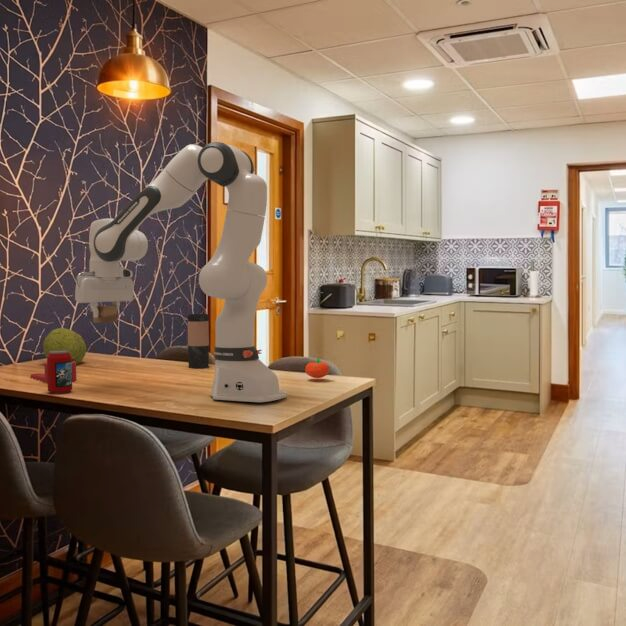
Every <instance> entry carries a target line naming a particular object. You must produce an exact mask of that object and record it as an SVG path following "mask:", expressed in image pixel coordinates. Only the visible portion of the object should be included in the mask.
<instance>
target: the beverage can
mask: <svg viewBox="0 0 626 626" xmlns="http://www.w3.org/2000/svg"><path fill="white" fill-rule="evenodd" d="M46 363H47V381H48V383H47V391H48V392H49V393H51V394H53V393H55V394H56V395H59V394H62V395H63V394H66V393H69V392H71V391H72V390H73V383H72V356H71V355H70V353H69V351H66V350H59V351H50V352H49V355H48V357H46ZM55 394H54V395H55Z"/></svg>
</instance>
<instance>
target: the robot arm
mask: <svg viewBox="0 0 626 626" xmlns="http://www.w3.org/2000/svg"><path fill="white" fill-rule="evenodd" d="M254 171H255V165H254V162H253V160H252V158H251V157H250V155H249V154H248V153H247V152H246V151H243V150H242V149H239V148H237V147H236V146H234V145H231V144H227V143H224V142H220V141H213V142H210V143H207V144H205V145H204V146H200V145H198V144H187V145H186V146H185V147H183V148H182V149H181V150H180V151H179V152H178V153H177V154H176V155H175V156H173V158H172V159H171V160H170V161H169V162H168V164H167V165H165V167H164V169H163V170H162V171H161V172H160V173H159V174H158V175H157V176H156V177H155V178H154V180H153V181H152V182H150V183H149V184H148V185H147V186H146V187H145V188H143V189H142V190H141V191H140V192H139V193H138V194H137V195H136V196H134V198H132V200H130V202H129V203H128V204H127V205H126V206H125V207H124V208H123V210H121V211H120V212H119V214H117V215H116V216H115V217H114V218H113V217H112V218H111V217H106V218H105V217H104V218H103V217H102V218H98V219H95V220H94V221H92V222H91V225H90V227H89V234H88V235H89V236H88V237H89V238H88V245H89V246H88V248H89V252H90V259H89V262H88V263H89V271H81V272H80V273H77V274H78V275H77V276H76V284H75V290H74V291H75V292H74V300H75V302H76V303H78V304H88V303H89V307H90V309H91V310H92V318H93V317H94V318H98V317H101V312H99V311H98V308H97V306H99V303H109V302H110V303H111V306H117V311H118V310H119V308H120V306H121V302H132V300H133V299H134V282H133V280H132V279H131V278H132V277H134V276H133V275H134V274H133V271H132V270H130V269H128V268H125V267H124V266H121V265H120V262H128V261H129V262H136V261H140V260H142V259H143V258H144V257H145V256H147V254H148V250H149V241H148V238H147V236H146V235H145V233H143V232H142V231H140V230H137V229H138V228H139V227H140V226H141V225H142V224H143V223H144V221H145V220H147V218H149V217H150V216H152V215H154V214H156V213H159V212H162V211H166V210H171V209H172V210H173V209H177V208H180V207H183V205H184V204H186V203H187V202H188V201H190V199H191V198H192V197H193V196H194V195H195V193H196V192H197V191H198V190H199V188H200V187H201V186H202V184H203V183H205V182H206V181H208V180H209V181H211V182H213V183H215V184H217V185H219V186H220V187H221V188H222V187H225V188H226V190H227V192H228V200H227V206H226V211H225V216H224V217H225V218H224V223H223V227H222V233H221V237H220V239H219V242H218V244H217V247H216V249H215V252H213V255H212V257H211V258H210V259H209V261H208V262H207V263H206V264H205V265H204V266H203V267H202V268H201V270H200V271H199V275H198V283H199V288H200V289H201V291H202V292H203V293H204V295H206V296H208V297H212V298H213V299H218V300H224V302H223V306H222V309H221V311H220V313H219V315H218V316H217V317H216V319H215V346H214V347H213V348H214V350H213V351H214V352H213V353H214V354H213V358H214V362H215V363H214V364H215V366H214V375H213V381H212V382H213V383H212V388H211V392H210V395H209V396H211V397H212V400H220V401H230V402H231V401H233V402H235V401H236V402H246V403H247V402H250V403H265V402H272V401H276V400H277V401H278V400H281V399H284V398H286V397H287V396H288V393H287V391H282V390H280V384H279V379H278V376H277V374H276V373H275V372H274V371H272V369H270V368H269V367H268V366H267V365H266V364H265V363H264V362H263V361H262V360H260V356H259V355H261V354H262V351H263V349H257V348H256V346H255V318H256V313H257V307H258V304H259V300H260V297H261V295H262V294H263V292H264V291H265V289H266V288H267V284H268V274H267V272H266V270H265V269H264V268H263V266H262V265H261V266H260V265H259V264H258V263H255V262H252V261H249V260H250V258H251V256H252V254H253V252H254V251H255V249H257V248H258V247H259V246H260V244H261V242H262V241H261V240H262V236H263V235H262V234H263V232H264V231H263V230H264V223H265V218H266V213H267V212H266V211H267V206H268V205H267V204H268V185H267V182H266V181H265V179H264V178H262V176H259V175H257V174H255V172H254Z"/></svg>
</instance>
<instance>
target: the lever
mask: <svg viewBox="0 0 626 626" xmlns="http://www.w3.org/2000/svg"><path fill="white" fill-rule="evenodd" d="M43 365H44V373H31V374H30V379H32V378H33V379H32V380H35V379H36V381H38V380H40V381H39V382H42V381H43V383H45V382H46V384H48V381H47V362H44V364H43ZM74 381H76V382H77V364H76V362H75V361H72V382H73V383H75V382H74Z"/></svg>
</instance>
